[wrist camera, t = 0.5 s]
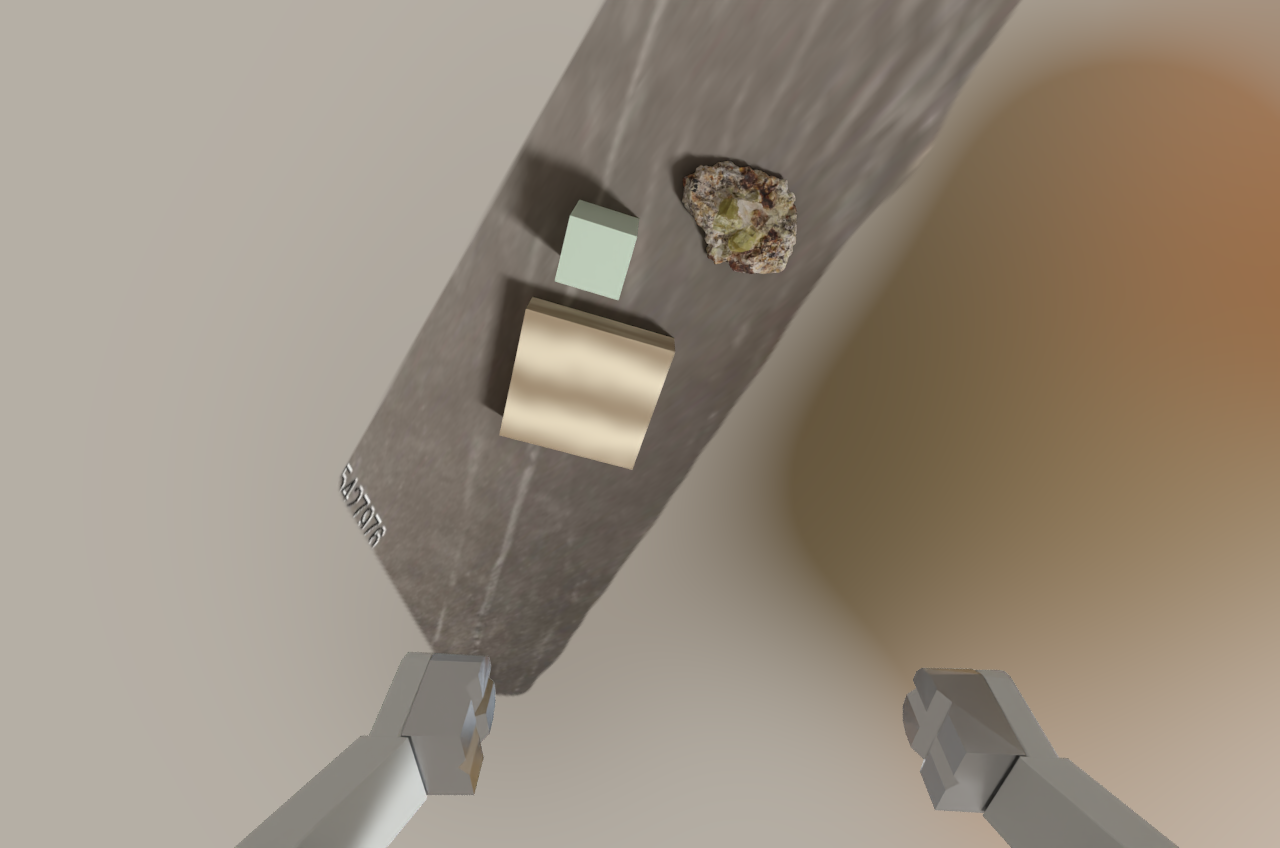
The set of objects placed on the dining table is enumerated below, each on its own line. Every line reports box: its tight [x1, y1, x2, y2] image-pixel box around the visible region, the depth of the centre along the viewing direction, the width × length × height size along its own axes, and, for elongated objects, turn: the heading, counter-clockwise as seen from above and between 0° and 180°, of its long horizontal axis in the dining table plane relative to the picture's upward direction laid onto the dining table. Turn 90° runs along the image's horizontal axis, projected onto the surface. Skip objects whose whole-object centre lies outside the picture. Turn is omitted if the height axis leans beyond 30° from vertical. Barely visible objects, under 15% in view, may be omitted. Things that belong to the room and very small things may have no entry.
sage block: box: [555, 200, 639, 300], centre depth 46 cm, size 5×5×6 cm
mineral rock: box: [682, 161, 797, 274], centre depth 46 cm, size 11×4×8 cm
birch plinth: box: [500, 297, 675, 469], centre depth 54 cm, size 13×13×3 cm
